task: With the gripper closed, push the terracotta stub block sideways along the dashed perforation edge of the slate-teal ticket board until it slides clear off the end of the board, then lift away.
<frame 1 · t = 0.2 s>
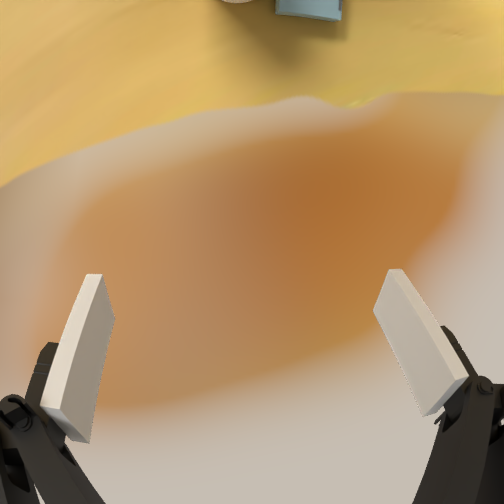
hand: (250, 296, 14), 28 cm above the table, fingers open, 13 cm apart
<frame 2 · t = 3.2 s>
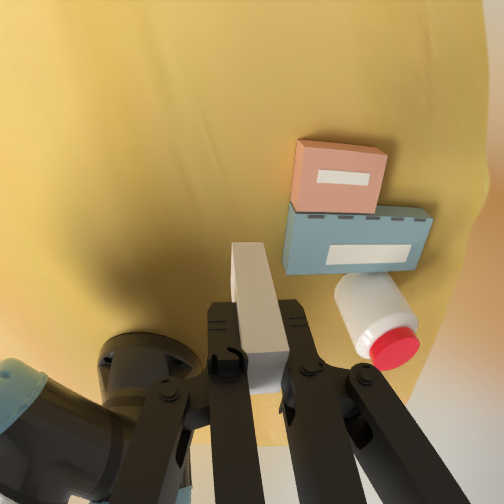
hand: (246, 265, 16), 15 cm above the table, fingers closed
stub: (338, 177, 28), point 1 cm above the table, slide at 0.0 cm
pill bottle: (361, 287, 39), on the table
ticket: (356, 233, 34), on the table
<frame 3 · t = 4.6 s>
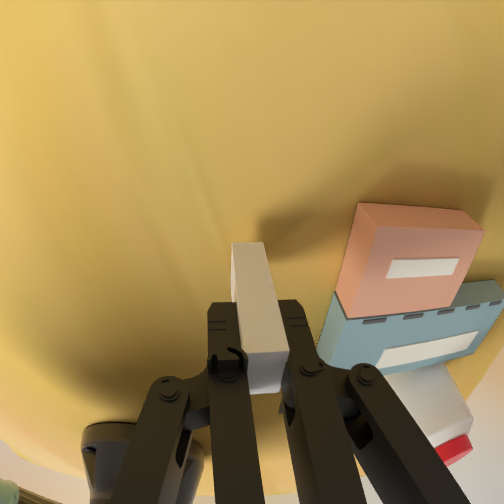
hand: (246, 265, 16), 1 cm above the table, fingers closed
stub: (412, 261, 17), point 1 cm above the table, slide at 0.0 cm
pill bottle: (405, 370, 28), on the table
ticket: (414, 319, 23), on the table
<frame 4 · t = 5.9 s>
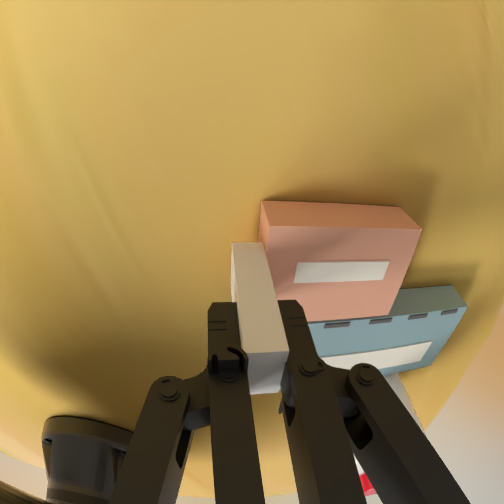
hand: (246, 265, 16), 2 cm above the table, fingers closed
stub: (333, 264, 17), point 1 cm above the table, slide at 0.3 cm, touching gripper
pill bottle: (356, 379, 27), on the table
ticket: (353, 327, 22), on the table
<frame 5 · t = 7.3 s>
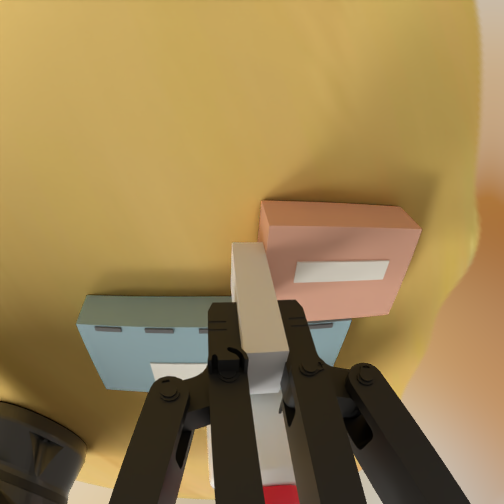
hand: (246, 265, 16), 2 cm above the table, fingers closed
stub: (333, 264, 17), point 1 cm above the table, slide at 10.4 cm, touching gripper
pill bottle: (249, 390, 26), on the table
ticket: (213, 334, 21), on the table
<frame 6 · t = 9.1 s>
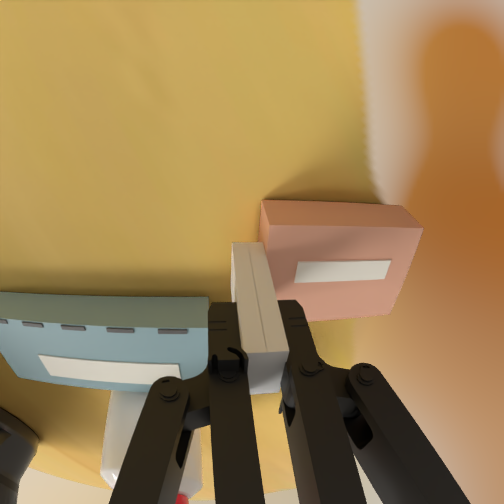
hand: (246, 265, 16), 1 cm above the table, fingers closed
stub: (335, 264, 17), point 1 cm above the table, slide at 18.7 cm, touching gripper
pill bottle: (155, 391, 25), on the table
ticket: (96, 333, 20), on the table
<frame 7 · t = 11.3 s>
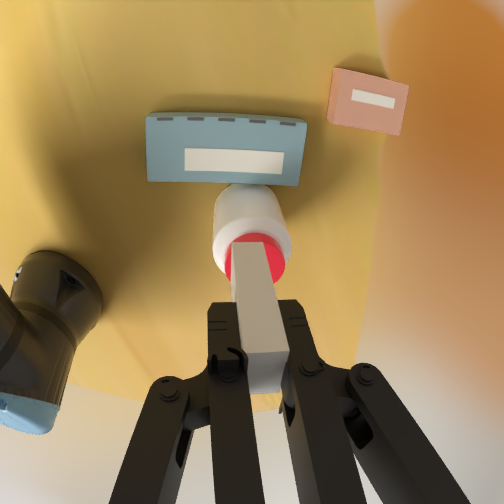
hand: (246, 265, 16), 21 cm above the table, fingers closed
stub: (368, 101, 30), point 1 cm above the table, slide at 18.7 cm
pill bottle: (246, 209, 38), on the table
ticket: (224, 144, 33), on the table
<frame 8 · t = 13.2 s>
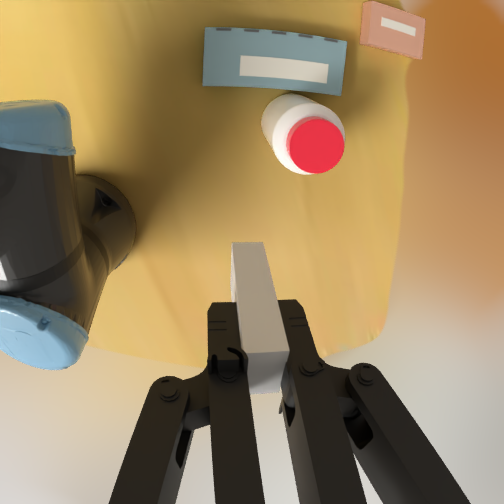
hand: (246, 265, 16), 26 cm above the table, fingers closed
stub: (393, 30, 29), point 1 cm above the table, slide at 18.7 cm
pill bottle: (291, 122, 38), on the table
ticket: (273, 59, 33), on the table
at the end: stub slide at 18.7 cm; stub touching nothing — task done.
